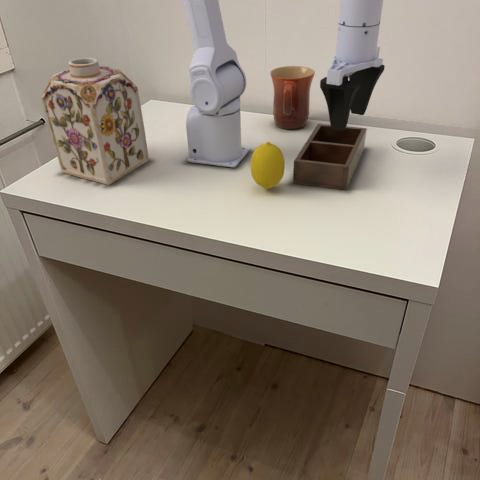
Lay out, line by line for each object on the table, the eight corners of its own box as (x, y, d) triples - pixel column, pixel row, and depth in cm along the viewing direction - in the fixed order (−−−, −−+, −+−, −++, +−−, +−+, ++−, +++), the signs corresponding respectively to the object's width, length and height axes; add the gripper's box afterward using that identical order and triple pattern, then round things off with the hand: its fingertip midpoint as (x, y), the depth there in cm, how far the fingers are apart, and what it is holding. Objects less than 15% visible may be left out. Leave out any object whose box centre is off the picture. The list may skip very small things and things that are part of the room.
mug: (273, 116, 110) (273, 65, 103) (313, 117, 108) (316, 66, 101) (264, 137, 101) (264, 83, 94) (307, 139, 99) (311, 84, 93)
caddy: (292, 183, 85) (293, 160, 83) (316, 144, 97) (318, 123, 95) (346, 190, 83) (349, 167, 80) (363, 149, 95) (366, 128, 92)
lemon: (249, 183, 86) (248, 136, 80) (281, 180, 86) (282, 134, 81) (252, 198, 82) (252, 150, 76) (286, 195, 82) (288, 148, 77)
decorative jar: (60, 173, 91) (29, 65, 79) (103, 150, 98) (81, 48, 87) (110, 187, 86) (85, 74, 74) (151, 161, 94) (135, 55, 82)
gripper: (366, 36, 64) (353, 141, 73) (404, 15, 73) (389, 111, 82) (316, 31, 67) (309, 133, 76) (359, 11, 76) (348, 104, 85)
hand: (348, 121), depth 79 cm, fingers open, 7 cm apart
